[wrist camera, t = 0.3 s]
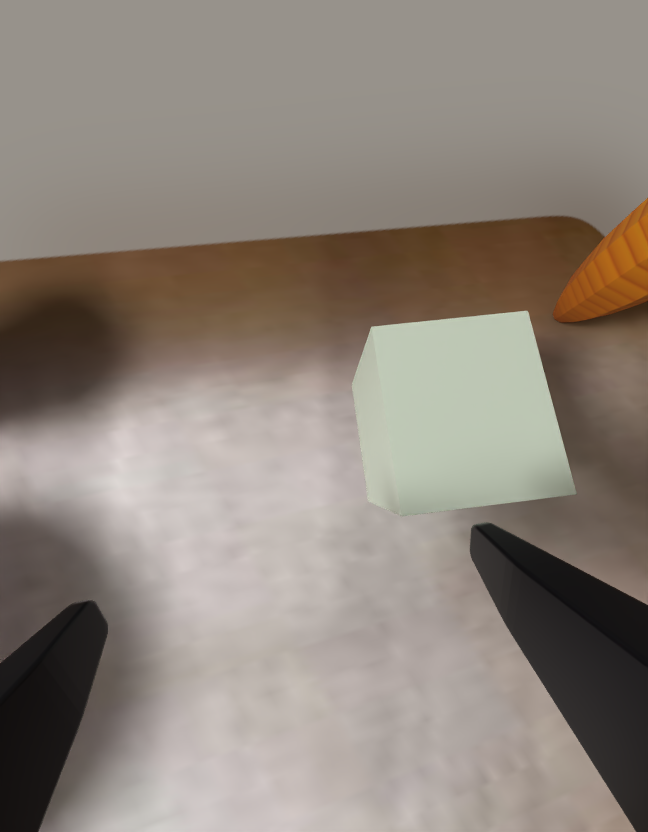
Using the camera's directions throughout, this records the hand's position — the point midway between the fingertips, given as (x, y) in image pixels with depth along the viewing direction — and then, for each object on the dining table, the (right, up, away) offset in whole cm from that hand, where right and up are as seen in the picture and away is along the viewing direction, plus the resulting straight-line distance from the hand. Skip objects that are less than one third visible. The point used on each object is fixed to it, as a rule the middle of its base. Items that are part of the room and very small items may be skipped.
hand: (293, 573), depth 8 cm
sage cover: (+7, +2, +15) cm, 17 cm away
